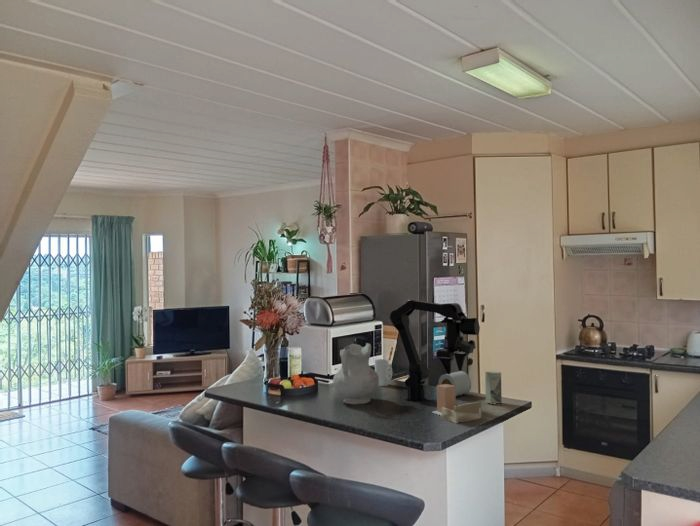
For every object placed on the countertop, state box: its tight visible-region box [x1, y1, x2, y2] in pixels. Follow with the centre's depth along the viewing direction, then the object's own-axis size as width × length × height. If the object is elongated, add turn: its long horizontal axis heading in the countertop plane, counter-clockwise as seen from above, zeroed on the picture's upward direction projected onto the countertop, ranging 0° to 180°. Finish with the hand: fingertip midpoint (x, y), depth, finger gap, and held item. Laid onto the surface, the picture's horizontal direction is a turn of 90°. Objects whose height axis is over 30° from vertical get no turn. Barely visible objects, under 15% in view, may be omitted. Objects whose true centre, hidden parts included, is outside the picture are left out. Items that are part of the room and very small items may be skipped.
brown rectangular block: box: [436, 384, 457, 413], centre depth 209 cm, size 5×5×10 cm
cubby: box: [441, 400, 482, 424], centre depth 201 cm, size 8×12×6 cm, turn 120°
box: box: [484, 370, 503, 405], centre depth 223 cm, size 5×4×13 cm
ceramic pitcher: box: [332, 342, 379, 405], centre depth 232 cm, size 22×20×25 cm
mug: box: [374, 358, 393, 387], centre depth 265 cm, size 10×7×12 cm, turn 45°
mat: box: [431, 410, 442, 417], centre depth 209 cm, size 8×8×1 cm
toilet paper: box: [437, 371, 472, 397], centre depth 239 cm, size 10×10×10 cm
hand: (454, 372), depth 223 cm, fingers open, 9 cm apart
